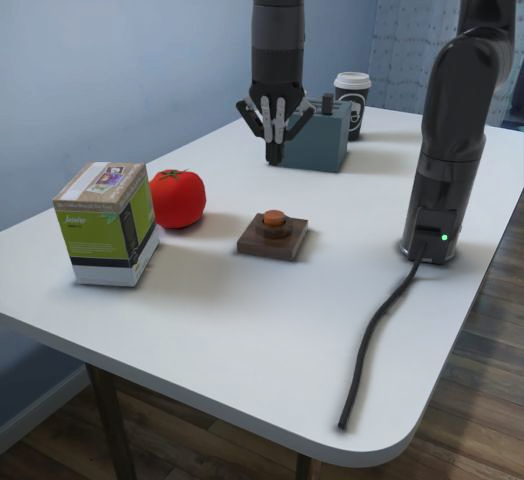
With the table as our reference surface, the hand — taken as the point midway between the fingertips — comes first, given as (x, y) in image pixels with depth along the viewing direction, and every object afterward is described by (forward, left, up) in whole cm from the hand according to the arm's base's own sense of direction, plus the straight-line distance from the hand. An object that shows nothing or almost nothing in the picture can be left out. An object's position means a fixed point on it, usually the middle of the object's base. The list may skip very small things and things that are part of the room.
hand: (274, 164), depth 81 cm
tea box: (-15, +23, -14) cm, 31 cm away
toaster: (+43, +3, -14) cm, 45 cm away
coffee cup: (+62, -3, -14) cm, 64 cm away
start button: (0, 0, -10) cm, 10 cm away
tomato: (+2, +20, -14) cm, 25 cm away
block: (0, 0, -14) cm, 14 cm away
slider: (+38, -1, -2) cm, 38 cm away
